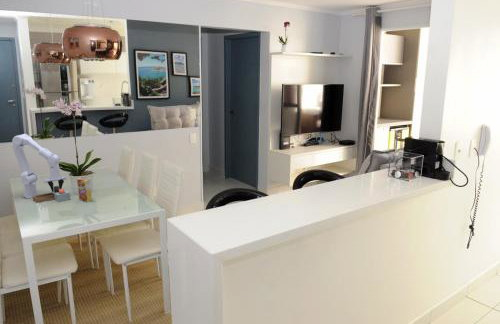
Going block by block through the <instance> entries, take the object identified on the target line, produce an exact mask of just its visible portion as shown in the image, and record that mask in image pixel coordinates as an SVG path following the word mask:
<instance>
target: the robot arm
mask: <svg viewBox="0 0 500 324" xmlns="http://www.w3.org/2000/svg"><path fill="white" fill-rule="evenodd" d="M11 142H12V150H13V152H14V155H15V158H16V161H17V163H18V166H19V168H20V170H21V174H20V178H21V183H22V185H23V195H22V196H23V197H24V198H25V199H33V196H36V195H39V194H38V190H37V184H36V183H37V181H38V175H37V174H36V173H35V171H34V170H32V169H31V167H30V164H29V161H28V159H27V157H26V154H25V151H24V147H25V146H29V147H31V148H33V149H34V150H36V151H37V152H38V155H40V156H41V157H43V159H45V160H46V162H47V163H48V165H49V173H50V178H47V179H44V180H43V183H44V184H48V186H49V187H50V190H51V192H54V182H57V183H58V186H59V189H63V185H64V183H65V180H67V179H68V178H67V175H66V176H60V165H59V162H60V160H61V159H60V155H58V154H55V153H53V152H51V151H50V150H49V148H46V147H42V146H41V145H40V144H38V143H37V141H35V140H34V139H32V137H31V136H30V135H28V134H27V133H23V134H18V135H15V136H13V138H12V140H11Z"/></svg>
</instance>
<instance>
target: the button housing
mask: <svg viewBox="0 0 500 324" xmlns="http://www.w3.org/2000/svg"><path fill="white" fill-rule="evenodd" d="M54 196H55V199H54V201H56V202H57V203H61V202H65V201H69V200H71V195H70V192H69V191H67V190H64V193H63V194H60V193H59V192H57V193H54Z"/></svg>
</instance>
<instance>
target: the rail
mask: <svg viewBox="0 0 500 324" xmlns="http://www.w3.org/2000/svg"><path fill="white" fill-rule="evenodd" d="M32 201H34V202H35V203H36V204H39V203H43V202H49V201H55V196H54V195H51V192H46V193H41V194H38V195H36V196H33V197H32Z"/></svg>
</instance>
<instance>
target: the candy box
mask: <svg viewBox="0 0 500 324" xmlns="http://www.w3.org/2000/svg"><path fill="white" fill-rule="evenodd" d="M76 183H77V192H78V193H77V194H78V200H79V201H83V202H88V203H89V202H92V201H93V197H92V185H91V179H88V178H85V177H84V178H83V177H80V178H77V179H76Z"/></svg>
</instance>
